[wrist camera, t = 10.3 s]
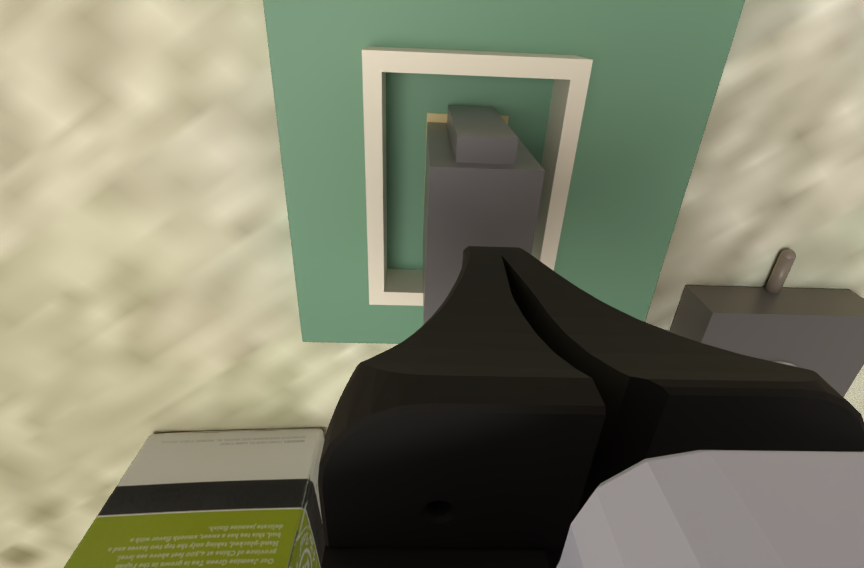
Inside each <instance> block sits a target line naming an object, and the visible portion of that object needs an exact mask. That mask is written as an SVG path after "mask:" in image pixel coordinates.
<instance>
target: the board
mask: <svg viewBox="0 0 864 568" xmlns="http://www.w3.org/2000/svg"><path fill="white" fill-rule="evenodd" d="M744 2H745V0H263V4H264V13H265V21H266V30H267V38H268V47H269V56H270V64H271V73H272V82H273V90H274V99H275V107H276V116H277V125H278V133H279V142H280V151H281V159H282V168H283V177H284V185H285V194H286V202H287V211H288V220H289V228H290V237H291V246H292V254H293V263H294V271H295V280H296V289H297V297H298V306H299V315H300V323H301V332H302V341H303V342H337V343H387V344H400V343H401V342H403V341H404V340H405V339H407V338H408V337H410V336H411V335H412V334H414V333H415V332H416V331H417V330H418V329H419V328H421V327H422V326H423V224H424V197H425V169H426V141H427V122H440V123H447V113H448V105H463V106H487V107H494V109H495V110H496V111H497V112H498V114H499V115H500V116H501V117H502V118H503V120H504V121H505V122H506V123H507V125H508V126H509V127H510V128H511V130H512V131H513V132H514V133H515V134H516V136H517V137H518V138H519V139H520V141H521V142H522V143H523V144H524V146H525V147H526V148H527V149H528V151H529V152H530V153H531V154H532V156H533V157H534V158H535V159H536V161H537V162H538V163H539V164H540V165H541V167H542V168H543V169H544V170H545V174H544V180H543V186H542V192H541V198H540V205H539V211H538V217H537V223H536V230H535V236H534V242H533V248H532V254H531V255H532V256H534V257H535V258H537V259H538V260H539V261H541V262H542V263H543V264H545V265H546V266H548V267H549V268H550V269H552V270H553V271H555V272H556V273H557V274H559V275H560V276H562V277H563V278H565V279H566V280H568V281H569V282H571V283H572V284H574V285H575V286H577V287H578V288H580V289H582V290H583V291H585V292H587V293H588V294H590V295H592V296H593V297H595V298H597V299H598V300H600V301H602V302H604V303H606V304H608V305H610V306H612V307H614V308H616V309H618V310H620V311H622V312H624V313H626V314H628V315H630V316H632V317H634V318H636V319H639V320H641V321H643V322H645V320H646V316H647V313H648V310H649V307H650V304H651V300H652V297H653V294H654V291H655V287H656V284H657V281H658V278H659V275H660V271H661V268H662V265H663V262H664V259H665V255H666V252H667V249H668V246H669V243H670V239H671V236H672V233H673V230H674V227H675V223H676V220H677V217H678V214H679V210H680V207H681V204H682V201H683V198H684V194H685V191H686V188H687V185H688V182H689V178H690V175H691V172H692V169H693V166H694V162H695V159H696V156H697V153H698V150H699V146H700V143H701V140H702V137H703V134H704V130H705V127H706V124H707V121H708V117H709V114H710V111H711V108H712V105H713V101H714V98H715V95H716V92H717V89H718V85H719V82H720V79H721V76H722V73H723V69H724V66H725V63H726V60H727V57H728V53H729V50H730V47H731V44H732V41H733V37H734V34H735V31H736V28H737V24H738V21H739V18H740V15H741V12H742V8H743V5H744Z"/></svg>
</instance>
